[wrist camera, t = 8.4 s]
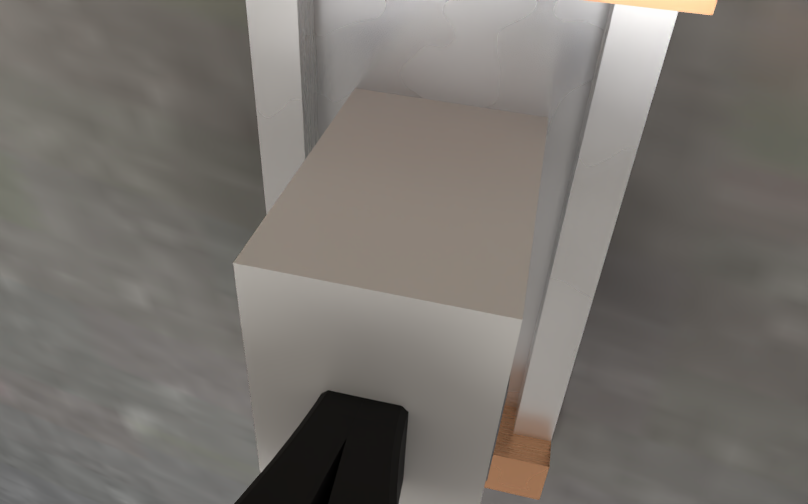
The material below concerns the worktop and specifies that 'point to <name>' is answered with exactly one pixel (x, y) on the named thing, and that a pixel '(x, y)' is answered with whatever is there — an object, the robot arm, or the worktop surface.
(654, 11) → the rail
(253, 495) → the robot arm
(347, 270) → the block
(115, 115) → the worktop surface
